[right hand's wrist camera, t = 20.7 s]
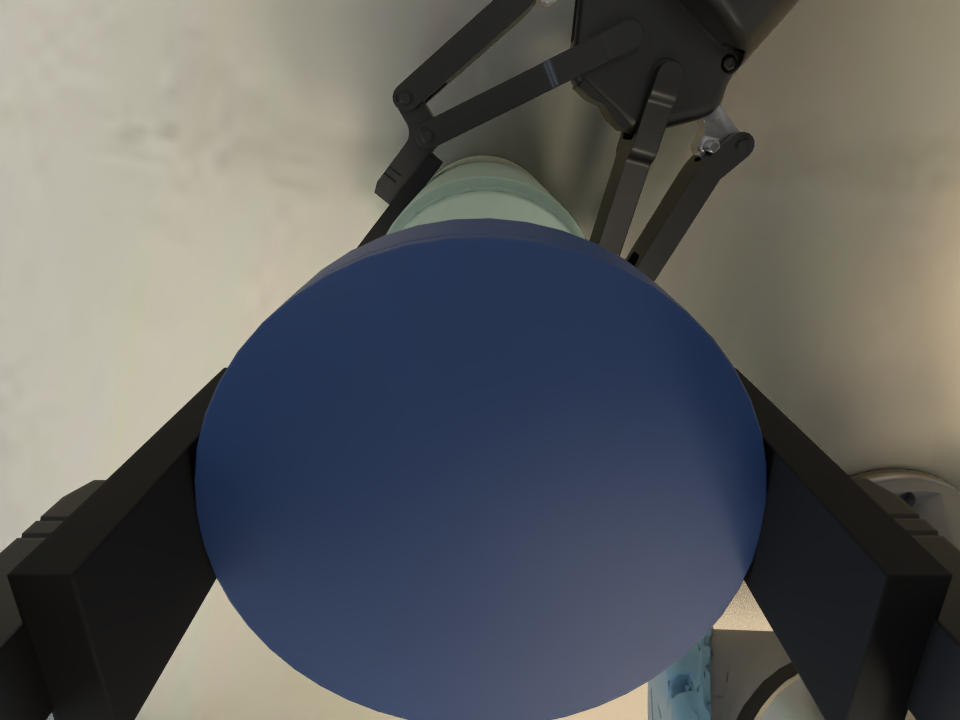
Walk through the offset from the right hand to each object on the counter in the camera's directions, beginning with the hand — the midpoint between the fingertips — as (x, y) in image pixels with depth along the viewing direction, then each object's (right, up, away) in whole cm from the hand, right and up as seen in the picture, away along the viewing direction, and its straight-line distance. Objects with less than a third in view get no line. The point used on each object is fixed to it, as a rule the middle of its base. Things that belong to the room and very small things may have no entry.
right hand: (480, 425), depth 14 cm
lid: (0, -1, -3) cm, 3 cm away
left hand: (-3, +4, +20) cm, 21 cm away
